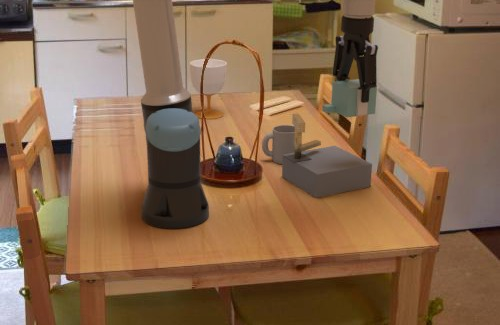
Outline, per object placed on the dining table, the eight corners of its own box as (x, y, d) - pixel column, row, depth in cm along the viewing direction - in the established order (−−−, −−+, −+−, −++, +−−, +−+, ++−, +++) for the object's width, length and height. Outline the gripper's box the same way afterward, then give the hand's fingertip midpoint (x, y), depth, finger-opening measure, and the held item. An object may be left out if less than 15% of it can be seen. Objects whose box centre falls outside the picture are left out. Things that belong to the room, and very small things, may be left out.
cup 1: (231, 111, 263) (231, 59, 257) (221, 121, 252) (221, 68, 246) (196, 109, 265) (195, 57, 260) (185, 119, 255) (184, 65, 249)
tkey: (327, 161, 199) (329, 122, 196) (297, 162, 198) (298, 123, 195) (319, 148, 208) (320, 111, 205) (290, 150, 207) (290, 112, 204)
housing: (314, 198, 193) (315, 174, 191) (280, 177, 206) (280, 154, 204) (370, 186, 201) (372, 163, 198) (334, 167, 214) (335, 144, 212)
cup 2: (300, 164, 215) (301, 132, 212) (263, 165, 214) (263, 133, 211) (296, 155, 222) (297, 124, 219) (260, 156, 221) (260, 125, 218)
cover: (337, 118, 190) (339, 89, 187) (322, 111, 195) (323, 82, 193) (374, 113, 194) (377, 85, 192) (358, 106, 200) (360, 78, 198)
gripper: (398, 21, 181) (390, 119, 189) (346, 8, 197) (340, 99, 205) (370, 23, 177) (363, 123, 185) (320, 10, 194) (316, 102, 202)
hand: (351, 110), depth 195 cm, fingers closed on cover, 7 cm apart
